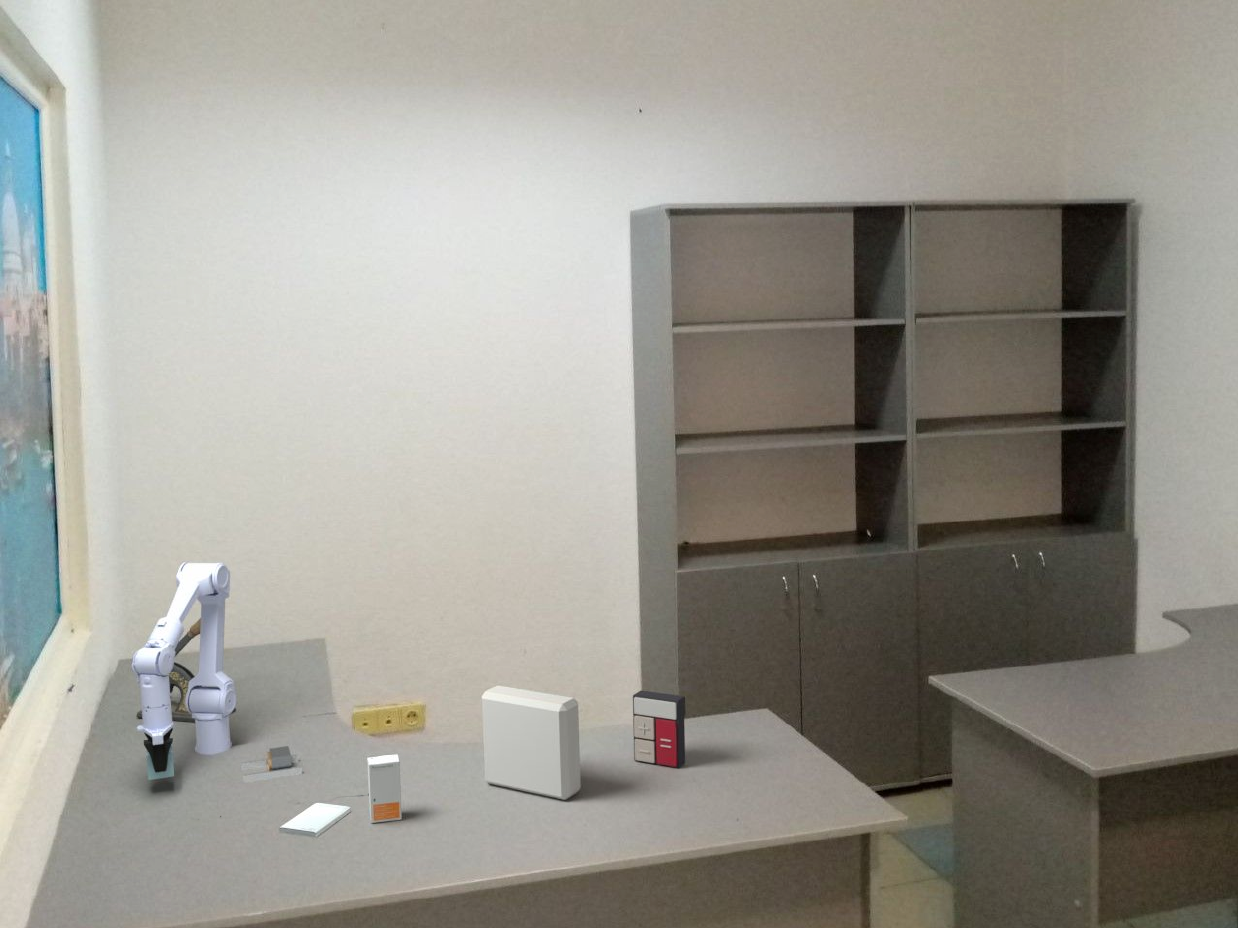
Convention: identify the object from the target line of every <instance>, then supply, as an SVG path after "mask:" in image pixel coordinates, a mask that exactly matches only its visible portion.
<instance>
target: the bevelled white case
mask: <svg viewBox="0 0 1238 928" xmlns="http://www.w3.org/2000/svg"><path fill="white" fill-rule="evenodd" d="M481 706H482V707H481V708H482V709H481V710H482V732H483V738H482V739H483V756H484V757H483V761H484V781H485V782H487V784H489V785H494V786H498V787H503V788H506V789H507V788H508V789H512V790H515V791H516V790H517V791H520V792H526V793H529V794H533V795H534V794H535V795H540V796H544V797H548V798H554V799H556V800H557V799H558V800H561V801H566V800H568V799H570V798H571V797H573V796H575V795H576V794H577V793H578V792H579V791H580V790H581V788H582V787H581V759H580V758H581V756H580V723H579V722H580V721H579V720H580V717H579V703H578V700H576V699H575V698H574V697H571V696H565V695H558V694H552V693H545V692H540V691H534V690H528V689H522V688H521V689H520V688H515V687H509V686H503V685H496V686H494V687H491V688H489V689H487V690H485V691H484V693H483V694H482V695H481Z"/></svg>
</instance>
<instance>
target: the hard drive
mask: <svg viewBox="0 0 1238 928" xmlns="http://www.w3.org/2000/svg"><path fill="white" fill-rule="evenodd" d="M351 812H352V808H351V807H350V806H347V805H339V804H330V803H322V802H315V803H314V804H312V805H311V806H309V807H308V808H306V809H305V810H304V811H301V813H299V814H297V815H296V816H294V817H293V818H292V819H290V820H289V821H287V822H285V823H283V825H281V826H280V827H279V828H278V833H281V834H288V835H295V836H301V837H302V836H304V837H311V838H318V837H319V836H320V835H321V834H323V833H324V832H325V831H327V830H329V828H332V827H333V825H335V824H336V823H338V822H339V821H340V820H342V819H343V818H344V817H345V816H347V815H348V814H350V813H351Z"/></svg>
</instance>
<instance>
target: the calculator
mask: <svg viewBox="0 0 1238 928" xmlns="http://www.w3.org/2000/svg"><path fill="white" fill-rule="evenodd" d="M685 716H686V697H685V696H684V695H679V694H671V693H662V692H655V691H649V690H642V689H641V690H639V691H638V692H636V693H634V694H633V695H632V719H633V720H632V722H633V724H632V725H633V756H634V757H633V759H634V761H635V762H638V763H645V764H650V765H651V764H652V765H657V766H663V767H670V768H674V769H680V768H681V767H682V766H684V765H685V764H686V748H685V747H686V743H685V741H686V739H685V735H686V734H685Z"/></svg>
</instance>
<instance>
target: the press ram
mask: <svg viewBox="0 0 1238 928" xmlns="http://www.w3.org/2000/svg"><path fill="white" fill-rule="evenodd" d="M291 755H292V754H291V751H290V746H288V745H286V746H285V745H284V746H278V747H272V748H271V747H270V748H269V750H268V751H266V759H267V771H271V770H278V769H284V768H291V767H293V766H292V763H291Z"/></svg>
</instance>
